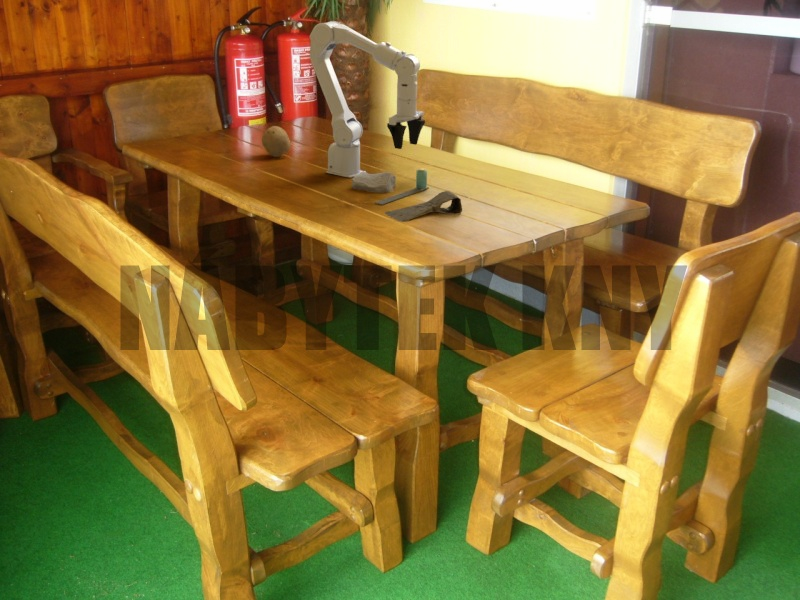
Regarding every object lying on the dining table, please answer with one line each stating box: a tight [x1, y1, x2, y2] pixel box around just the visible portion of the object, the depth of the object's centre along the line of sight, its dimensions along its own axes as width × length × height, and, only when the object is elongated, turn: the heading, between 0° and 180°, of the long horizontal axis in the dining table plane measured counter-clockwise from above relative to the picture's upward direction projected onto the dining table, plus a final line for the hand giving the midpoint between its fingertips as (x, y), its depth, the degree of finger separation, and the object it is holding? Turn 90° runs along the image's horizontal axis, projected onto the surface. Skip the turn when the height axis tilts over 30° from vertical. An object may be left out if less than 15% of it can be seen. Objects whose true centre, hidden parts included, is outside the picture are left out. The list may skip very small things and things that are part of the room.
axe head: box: [384, 190, 463, 223], centre depth 212 cm, size 21×5×10 cm
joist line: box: [374, 186, 430, 206], centre depth 228 cm, size 2×22×1 cm, turn 144°
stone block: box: [351, 171, 397, 194], centre depth 235 cm, size 12×5×10 cm
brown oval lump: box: [261, 125, 291, 158], centre depth 266 cm, size 9×9×10 cm
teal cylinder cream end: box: [415, 168, 428, 190], centre depth 234 cm, size 3×3×5 cm
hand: (405, 146), depth 241 cm, fingers open, 7 cm apart
